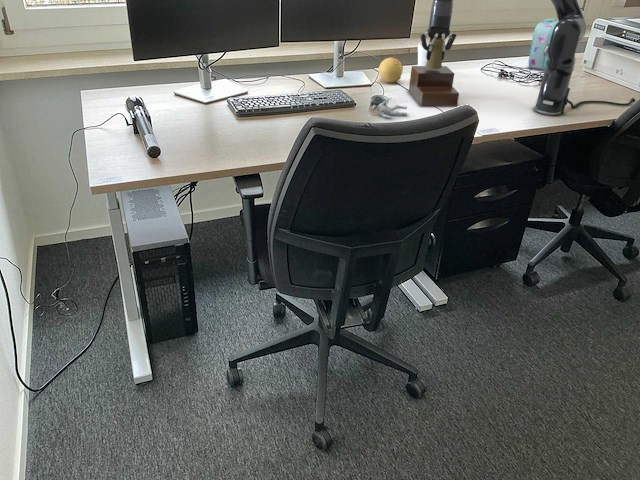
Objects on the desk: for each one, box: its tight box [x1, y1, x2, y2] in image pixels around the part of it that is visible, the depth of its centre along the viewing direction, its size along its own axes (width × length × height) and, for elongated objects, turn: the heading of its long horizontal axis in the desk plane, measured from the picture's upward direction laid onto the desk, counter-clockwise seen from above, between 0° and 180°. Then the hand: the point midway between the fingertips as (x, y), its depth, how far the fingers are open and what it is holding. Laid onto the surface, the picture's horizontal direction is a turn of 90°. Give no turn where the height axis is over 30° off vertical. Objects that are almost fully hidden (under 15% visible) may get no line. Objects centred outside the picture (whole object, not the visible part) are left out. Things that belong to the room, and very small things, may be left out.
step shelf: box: [408, 65, 460, 107], centre depth 208 cm, size 18×14×10 cm
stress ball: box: [378, 56, 404, 83], centre depth 224 cm, size 10×10×10 cm
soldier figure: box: [372, 97, 408, 119], centre depth 192 cm, size 8×5×12 cm
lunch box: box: [528, 17, 558, 71], centre depth 252 cm, size 27×10×21 cm, turn 147°
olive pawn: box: [426, 38, 444, 69], centre depth 205 cm, size 6×6×11 cm
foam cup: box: [417, 41, 429, 66], centre depth 233 cm, size 10×9×13 cm
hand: (434, 60), depth 207 cm, fingers closed on olive pawn, 3 cm apart
